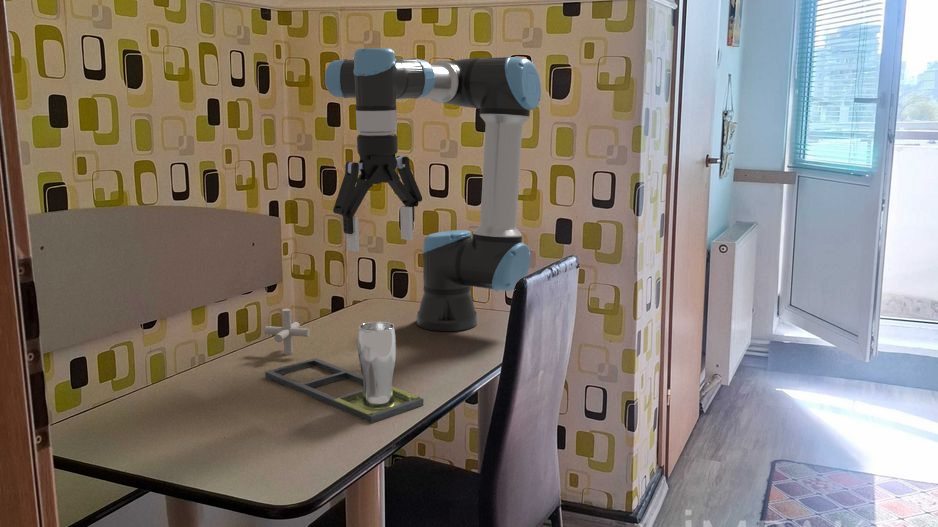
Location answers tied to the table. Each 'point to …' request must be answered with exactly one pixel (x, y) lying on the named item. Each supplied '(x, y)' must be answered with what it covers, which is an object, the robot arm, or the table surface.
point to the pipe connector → (287, 331)
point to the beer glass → (377, 363)
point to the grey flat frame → (346, 402)
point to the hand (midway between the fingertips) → (380, 244)
